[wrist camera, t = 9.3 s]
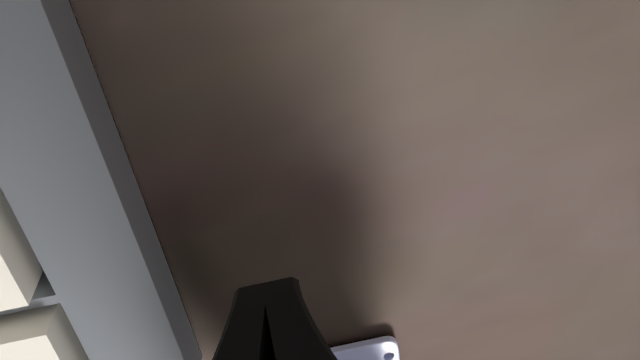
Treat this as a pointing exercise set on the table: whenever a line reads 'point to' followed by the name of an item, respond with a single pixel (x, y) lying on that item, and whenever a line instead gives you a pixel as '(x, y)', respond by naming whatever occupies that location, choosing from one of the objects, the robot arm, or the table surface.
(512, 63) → the table surface
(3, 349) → the tile
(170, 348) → the keypad board
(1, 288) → the tile
